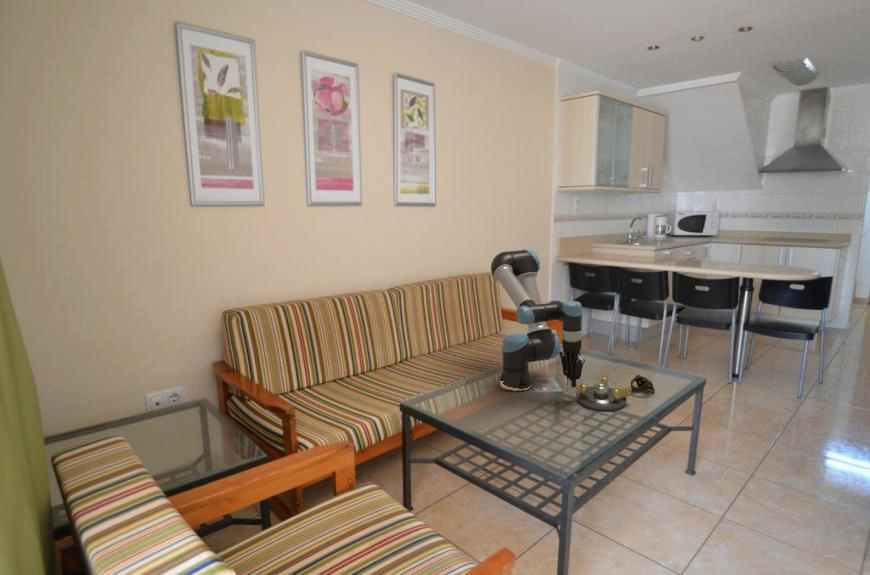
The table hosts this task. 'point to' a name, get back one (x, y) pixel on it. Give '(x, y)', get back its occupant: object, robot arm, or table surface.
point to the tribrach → (600, 399)
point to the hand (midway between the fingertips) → (571, 393)
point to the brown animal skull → (641, 384)
